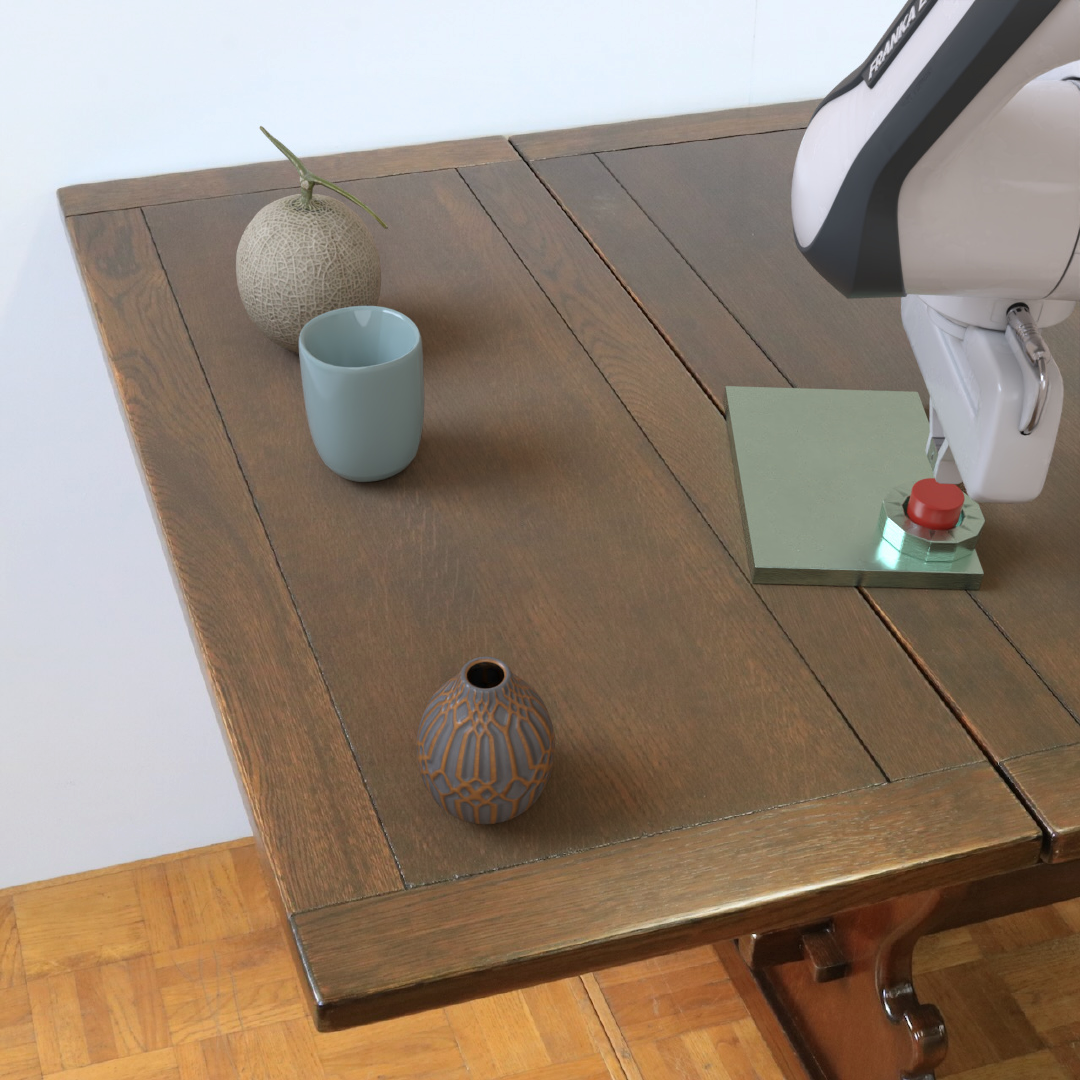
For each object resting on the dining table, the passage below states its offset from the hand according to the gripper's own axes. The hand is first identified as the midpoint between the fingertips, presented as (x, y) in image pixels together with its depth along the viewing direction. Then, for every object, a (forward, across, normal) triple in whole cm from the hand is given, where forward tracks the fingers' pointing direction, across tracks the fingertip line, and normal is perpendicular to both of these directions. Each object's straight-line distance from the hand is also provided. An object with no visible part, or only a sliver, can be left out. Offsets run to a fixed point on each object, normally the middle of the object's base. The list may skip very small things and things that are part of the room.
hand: (943, 469), depth 80 cm
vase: (+7, -21, +27) cm, 34 cm away
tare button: (+4, 0, 0) cm, 4 cm away
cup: (+6, +8, +36) cm, 37 cm away
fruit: (+6, +23, +42) cm, 48 cm away
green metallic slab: (+6, +6, +4) cm, 10 cm away
